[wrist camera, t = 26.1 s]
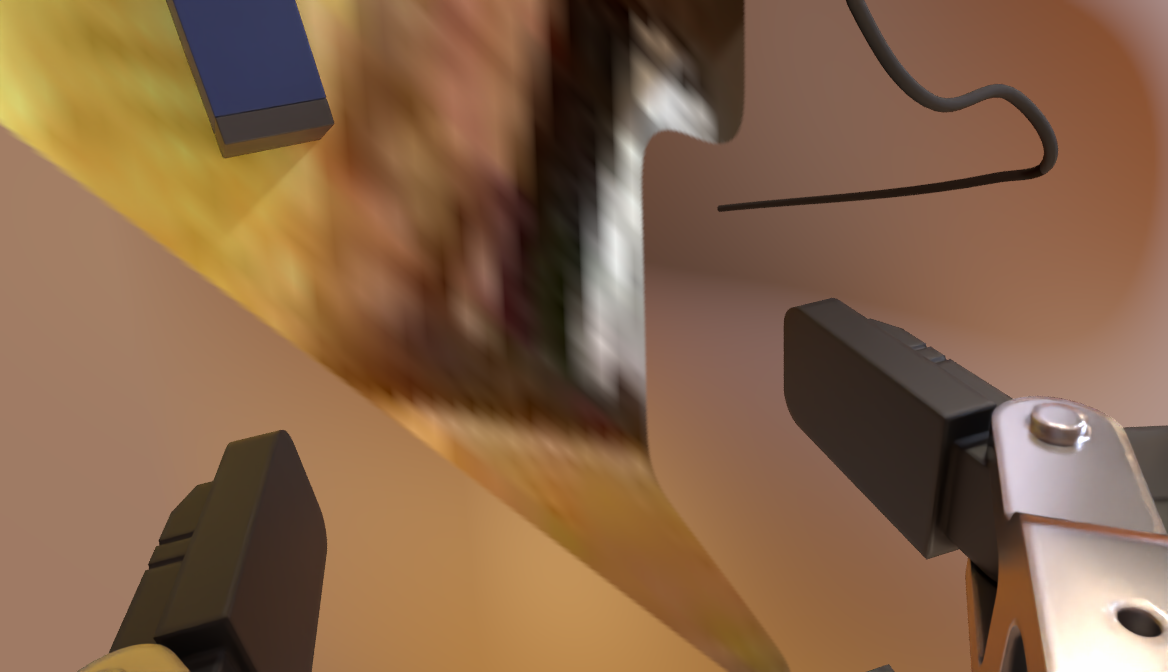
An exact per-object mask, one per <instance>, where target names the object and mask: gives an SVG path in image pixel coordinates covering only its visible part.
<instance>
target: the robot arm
mask: <svg viewBox="0 0 1168 672" xmlns="http://www.w3.org/2000/svg"><path fill="white" fill-rule="evenodd" d="M846 2H847V5H848V7H849V9H850V11H851V13H852V15H853V17H854V19H855V21H856V22H857V24H858V26H859V28H860V30H861V32H862V34H863V35H864V37H865V39H866V41H867V43H868V45H869V46H870V48H871V49H872V51H873V53H874V55H875V56H876V58H877V59H878V61H879V62H880V64H881V65H882V66H883V68H884V69H885V71H886V72H887V73H888V75H889V76H890V77H891V78H892V79H893V81H894V82H895V83H896V84H897V85H898V86H899V87H900V88H901V89H902V90H903V91H904V92H905V93H906V94H907V95H908V96H909V97H911V98H912V99H913V100H915V101H916V102H918V103H919V104H921V105H922V106H924V107H927V108H929V109H931V110H934V111H938V112H953V111H957V110H961V109H963V108H966V107H969V106H971V105H974V104H976V103H978V102H980V101H983V100H986V99H989V98H1003V99H1005V100H1007V101H1009V102H1010V103H1011V104H1013V105H1014V106H1015V107H1017V109H1019V110H1020V111H1021V112H1022V113H1023V114H1024V115H1025V117H1026V118H1028V120H1029V121H1030V122H1031V124H1032V125H1033V126H1034V128H1035V129H1036V131H1037V133H1038V135H1039V136H1040V139H1041V141H1042V144H1043V148H1044V156H1043V160H1042V161H1041V163H1040V164H1039V165H1037V166H1035V167H1032V168H1027V169H1021V170H1011V171H1003V172H996V173H991V174H985V175H980V176H975V177H970V178H964V179H958V180H951V181H945V182H939V183H932V184H925V185H917V186H910V187H901V188H893V189H884V190H875V191H865V192H855V193H846V194H834V195H823V196H812V197H800V198H790V199H778V200H767V201H756V202H746V203H736V204H727V205H719V206H718V207H717V210H718V211H719V212H725V211H734V210H746V209H758V208H769V207H783V206H795V205H809V204H823V203H835V202H848V201H860V200H871V199H882V198H892V197H902V196H911V195H919V194H928V193H935V192H943V191H950V190H957V189H964V188H971V187H976V186H982V185H988V184H994V183H1000V182H1008V181H1020V180H1029V179H1034V178H1038V177H1040V176H1043V175H1044V174H1046V173H1047V172H1048V171H1049V170H1051V169H1052V168H1053V166H1054V164H1055V163H1056V160H1057V156H1058V145H1057V140H1056V136H1055V134H1054V131H1053V129H1052V127H1051V125H1050V124H1049V122H1048V121H1047V119H1046V118H1045V116H1044V115H1043V114H1042V112H1041V111H1040V110H1039V109H1038V108H1037V106H1036V105H1035V104H1034V103H1033V102H1032V101H1031V100H1030V99H1029V98H1027V97H1026V96H1025V95H1024V94H1023V93H1021V92H1020V91H1018V90H1017V89H1015V88H1013V87H1010V86H1007V85H1003V84H993V85H988V86H985V87H982V88H980V89H977V90H975V91H972V92H970V93H967V94H965V95H962V96H959V97H955V98H941V97H938V96H936V95H934V94H932V93H930V92H929V91H927V90H926V89H925V88H923V87H922V86H921V85H920V84H918V82H917V81H915V80H914V79H913V78H912V77H911V76H910V74H909V73H908V72H907V71H906V70H905V69H904V67H903V66H902V65H901V64H900V62H899V61H898V60H897V58H896V57H895V55H894V54H893V52H892V51H891V49H890V47H889V46H888V44H887V43H886V41H885V39H884V38H883V36H882V34H881V32H880V31H879V28H878V27H877V25H876V23H875V21H874V19H873V17H872V15H871V13H870V11H869V9H868V7H867V5H866V3H865V1H864V0H846ZM784 395H785V399H786V403H787V407H788V410H789V412H790V414H791V416H792V418H793V420H794V421H795V423H796V424H797V425H798V426H799V427H800V428H801V429H802V430H803V431H804V433H805V434H806V435H807V436H808V437H809V438H810V439H811V440H812V441H813V442H814V443H815V444H816V445H817V446H818V447H819V448H820V449H821V450H822V451H823V452H824V453H825V454H826V455H827V456H828V458H829V459H830V460H831V461H832V462H834V464H835V465H836V466H837V467H838V468H839V469H840V470H841V471H842V472H843V473H844V474H845V475H846V476H847V477H848V478H849V479H850V480H851V481H852V482H853V483H854V484H855V486H856V487H857V488H858V489H859V490H860V491H861V492H862V493H863V494H864V495H865V496H866V497H867V498H868V499H869V500H870V501H871V502H872V503H873V504H874V505H875V506H876V507H877V508H878V509H879V510H880V512H881V513H882V514H883V515H885V517H887V519H888V520H889V521H890V522H891V523H892V524H893V525H894V526H895V527H896V528H897V529H898V530H899V531H900V532H901V533H902V534H903V535H904V536H905V538H907V539H908V541H909V542H910V543H911V544H912V545H913V546H914V547H915V548H916V549H917V550H918V551H919V552H920V553H921V554H922V555H923V556H924V557H925V558H926V559H930V558H933V557H936V556H939V555H942V554H945V553H949V552H952V551H955V550H958V549H960V550H961V551H962V552H963V553H964V554H965V555H966V556H967V557H968V561H967V567H966V575H965V579H966V595H967V610H968V623H969V640H970V655H971V669H972V672H1168V426H1148V427H1126V428H1122V427H1121V426H1120V425H1119V424H1118V423H1117V422H1116V421H1115V420H1114V419H1112V418H1111V417H1110V416H1108V415H1106V414H1105V413H1103V412H1101V411H1099V410H1097V409H1094V408H1092V407H1090V406H1087V405H1084V404H1082V403H1078V402H1075V401H1071V400H1066V399H1062V398H1055V397H1043V396H1028V397H1020V398H1015V399H1012V398H1011V397H1009V396H1008V395H1006V394H1005V393H1003V392H1001V391H1000V390H998V389H997V388H995V387H993V386H992V385H990V384H989V383H987V382H986V381H984V380H982V379H981V378H979V377H978V376H976V375H975V374H973V373H971V372H970V371H968V370H967V369H965V368H964V367H962V366H960V365H959V364H957V363H956V362H954V361H952V360H951V359H949V360H946V358H945V356H944V355H943V354H941V353H940V352H938V351H937V350H935V349H933V348H932V347H926V344H925V343H924V342H922V341H921V340H919V339H918V338H916V337H915V336H913V335H911V334H910V333H908V332H907V331H905V330H904V329H902V328H899V327H895V326H892V325H889V324H886V323H883V322H880V321H876V320H873V319H867V318H865V317H864V316H862V315H861V314H859V313H858V312H856V311H855V310H853V309H851V308H850V307H849V306H847V305H846V304H844V303H843V302H841V301H840V300H838V299H835V298H830V299H826V300H822V301H818V302H813V303H809V304H805V305H801V306H797V307H793V308H790V309H789V310H788V311H787V312H786V315H785V318H784ZM326 554H327V537H326V529H325V524H324V520H323V516H322V512H321V510H320V507H319V504H318V502H317V500H316V497H315V495H314V492H313V490H312V487H311V485H310V482H309V480H308V477H307V475H306V472H305V470H304V468H303V465H302V463H301V460H300V458H299V455H298V453H297V450H296V448H295V445H294V443H293V441H292V439H291V437H290V436H289V434H288V433H287V432H286V431H285V430H279V431H275V432H271V433H267V434H263V435H259V436H254V437H250V438H246V439H242V440H238V441H234V442H231V443H229V444H228V445H227V447H226V450H225V452H224V455H223V457H222V460H221V462H220V465H219V468H218V470H217V473H216V476H215V478H214V481H212V482H208V483H204V484H200V485H197V486H196V487H195V488H194V489H193V490H192V491H191V492H190V493H189V494H188V495H187V497H186V498H185V499H184V500H183V501H182V502H181V503H180V504H179V505H178V506H177V507H176V508H175V509H174V510H173V511H172V512H171V514H170V517H169V519H168V521H167V523H166V525H165V528H164V530H163V532H162V534H161V537H160V539H159V546H156V548H155V550H154V552H153V555H152V557H151V559H150V561H149V564H148V565H149V570H146V571H145V573H144V575H143V577H142V579H141V582H140V584H139V586H138V588H137V591H136V593H135V595H134V597H133V600H132V602H131V604H130V606H129V609H128V611H127V613H126V615H125V618H124V620H123V622H122V624H121V627H120V629H119V631H118V633H117V636H116V638H115V640H114V642H113V645H112V647H111V649H110V651H109V654H107V655H105V656H103V657H101V658H99V659H97V660H95V661H93V662H91V663H90V664H88V665H87V666H85V667H83V668H82V669H80V670H79V671H78V672H312V664H313V655H314V648H315V640H316V632H317V624H318V617H319V609H320V601H321V593H322V585H323V578H324V570H325V562H326ZM868 672H894V670H893V669H892V668H891V666H890V665H889V664H888V665H885V666H882V667H879V668H876V669H873V670H871V671H868Z"/></svg>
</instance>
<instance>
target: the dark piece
mask: <svg viewBox="0 0 1168 672" xmlns="http://www.w3.org/2000/svg"><path fill="white" fill-rule="evenodd" d="M166 2H167V5H168V7H169V10H170V13H171V16H172V19H173V21H174V24H175V27H176V30H177V32H178V35H179V38H180V41H181V43H182V46H183V49H184V52H185V54H186V57H187V60H188V63H189V65H190V68H191V71H192V74H193V76H194V79H195V82H196V85H197V88H198V90H199V93H200V96H201V99H202V101H203V104H204V107H205V110H206V112H207V115H208V118H209V121H210V123H211V126H212V129H213V132H214V134H215V137H216V140H217V143H218V145H219V148H220V151H221V154H222V156H223V158H229V157H234V156H239V155H244V154H249V153H254V152H259V151H264V150H269V149H275V148H280V147H285V146H290V145H295V144H300V143H305V142H310V141H315V140H320V139H321V138H322V137H323V136H324V135H325V133H326V132H327V131H328V130H329V129H330V128H331V127H332V126H333V125H334V120H333V117H332V114H331V111H330V108H329V105H328V102H327V99H325V98H326V95H325V92H324V89H323V86H322V83H321V80H320V76H319V73H318V70H317V67H316V64H315V61H314V58H313V54H312V51H311V48H310V45H309V42H308V39H307V36H306V33H305V29H304V26H303V23H302V20H301V17H300V14H299V11H298V8H297V4H296V1H295V0H166Z"/></svg>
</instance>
